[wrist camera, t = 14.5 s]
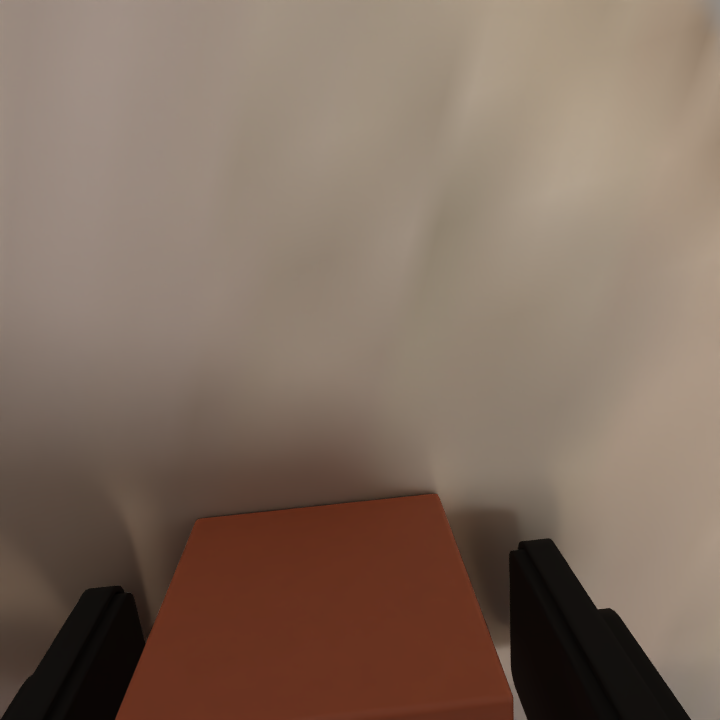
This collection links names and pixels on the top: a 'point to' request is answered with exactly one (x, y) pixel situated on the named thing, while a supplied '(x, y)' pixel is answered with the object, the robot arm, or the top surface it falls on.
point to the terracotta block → (321, 621)
